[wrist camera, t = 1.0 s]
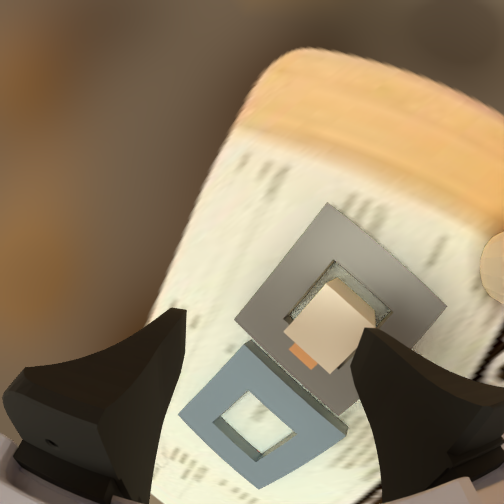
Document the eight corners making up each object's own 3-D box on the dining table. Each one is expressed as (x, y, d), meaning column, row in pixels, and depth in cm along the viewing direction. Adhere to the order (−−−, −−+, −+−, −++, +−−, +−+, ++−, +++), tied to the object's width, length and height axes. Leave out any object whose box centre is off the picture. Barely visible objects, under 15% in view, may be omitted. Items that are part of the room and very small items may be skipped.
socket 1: (442, 303, 19) (447, 306, 17) (340, 407, 21) (338, 415, 20) (330, 205, 22) (327, 202, 21) (241, 316, 25) (234, 319, 24)
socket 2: (348, 427, 21) (346, 436, 20) (264, 481, 24) (258, 489, 22) (251, 339, 25) (243, 344, 23) (185, 409, 28) (177, 414, 26)
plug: (374, 310, 21) (375, 327, 15) (334, 353, 22) (321, 382, 16) (337, 277, 22) (325, 283, 17) (298, 321, 23) (275, 340, 18)
